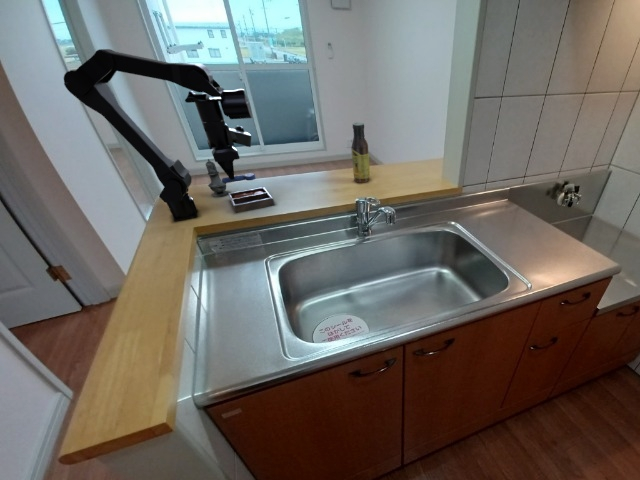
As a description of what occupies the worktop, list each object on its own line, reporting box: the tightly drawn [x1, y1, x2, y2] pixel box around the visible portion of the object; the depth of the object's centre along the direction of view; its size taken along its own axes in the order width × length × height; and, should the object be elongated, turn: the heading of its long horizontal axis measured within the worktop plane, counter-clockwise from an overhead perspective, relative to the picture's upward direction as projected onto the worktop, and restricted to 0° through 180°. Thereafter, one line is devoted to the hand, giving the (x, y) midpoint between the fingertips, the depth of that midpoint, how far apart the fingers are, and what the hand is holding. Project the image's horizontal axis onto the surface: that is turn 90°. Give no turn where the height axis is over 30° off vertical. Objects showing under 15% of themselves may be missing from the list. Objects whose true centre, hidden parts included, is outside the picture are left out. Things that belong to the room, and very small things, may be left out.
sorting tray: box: [227, 186, 275, 214], centre depth 109 cm, size 12×12×2 cm
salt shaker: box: [205, 158, 230, 198], centre depth 112 cm, size 6×6×12 cm
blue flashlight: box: [221, 172, 256, 184], centre depth 99 cm, size 10×3×2 cm, turn 120°
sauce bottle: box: [350, 122, 371, 184], centre depth 119 cm, size 7×6×20 cm
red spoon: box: [234, 191, 263, 198], centre depth 110 cm, size 10×3×2 cm, turn 120°
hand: (232, 178), depth 98 cm, fingers closed on blue flashlight, 1 cm apart
